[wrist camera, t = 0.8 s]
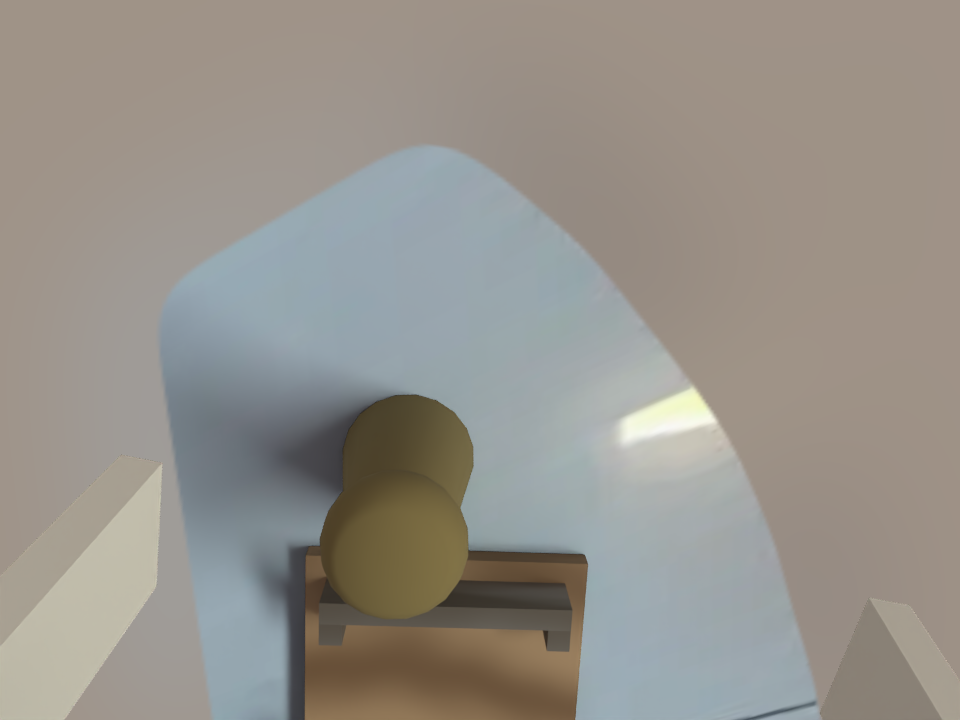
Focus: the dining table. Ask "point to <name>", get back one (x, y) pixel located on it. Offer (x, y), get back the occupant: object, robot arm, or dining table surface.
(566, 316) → the dining table surface
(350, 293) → the dining table surface
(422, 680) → the socket
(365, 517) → the cork
